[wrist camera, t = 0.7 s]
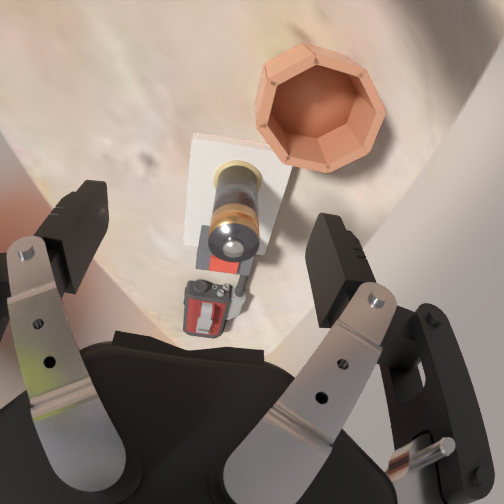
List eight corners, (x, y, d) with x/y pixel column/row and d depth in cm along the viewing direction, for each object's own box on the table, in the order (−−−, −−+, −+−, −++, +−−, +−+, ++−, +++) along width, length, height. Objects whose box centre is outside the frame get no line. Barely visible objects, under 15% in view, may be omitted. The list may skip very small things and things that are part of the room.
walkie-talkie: (232, 328, 55) (258, 250, 41) (232, 350, 52) (258, 276, 38) (183, 322, 54) (190, 240, 40) (180, 344, 51) (185, 266, 37)
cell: (219, 161, 30) (209, 227, 23) (261, 168, 30) (265, 234, 24) (214, 195, 33) (204, 264, 26) (253, 201, 33) (254, 271, 26)
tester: (194, 132, 29) (183, 160, 25) (294, 148, 31) (301, 179, 26) (184, 235, 39) (177, 271, 35) (264, 246, 40) (265, 283, 36)
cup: (270, 35, 22) (275, 44, 18) (372, 64, 24) (398, 81, 20) (249, 129, 29) (248, 158, 25) (341, 148, 30) (357, 180, 26)
